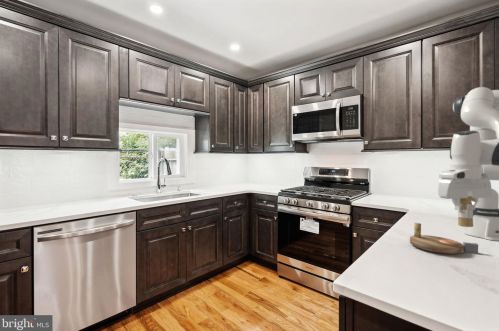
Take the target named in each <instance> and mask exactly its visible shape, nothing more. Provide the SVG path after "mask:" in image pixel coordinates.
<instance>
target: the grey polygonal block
mask: <svg viewBox="0 0 499 331" xmlns="http://www.w3.org/2000/svg"><path fill="white" fill-rule="evenodd" d="M462 245H463V252H464V253H469V254H477V255H478V254H479V243H474V242H463V243H462Z"/></svg>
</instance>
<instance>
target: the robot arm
mask: <svg viewBox="0 0 499 331" xmlns="http://www.w3.org/2000/svg"><path fill="white" fill-rule="evenodd" d="M452 111H453V112H454V115H456V116H458V117H460V119H461V121H462V122H463V123H464V124H465V125H467V126H469V130H465V131H464V130H463V131H458V132H455V133H454V134H453V136H452V139H451V145H450V149H449V158H450V159H451V163H450V168H448V169H446V170H442V171H441V172H439V173H438V178H440V179H439V181H438V187H437V188H438V189H437V190H438V191H437V194H438V196H439V198H440V199H445V200H448V199H449V200H451V201H452V203H453V204H454V210H455V211H458V210H463V209H462V208H463V206H461V205H460V202H459V201H460V200H461V198H468V197H469V196H468V192H469V191H471V192H472V196H471V197H472V204H473V225H474V226H473V227H464V228H465V229H464V231H463V233H464V234H466V235H468V236H471V237H476V238H482V239H485V240H490V241H497V242H498V241H499V193H498V191H497V190H495V189H493V188H492V183H491V181H499V89H493V90H492V89H490V88H488V87H485V86H480V87H475V88H473V89H471V90H470V91H469V92H468V93H467V94H466V95H465V94H463V95H460V96H458V97H456V99H454V102H453V103H452Z"/></svg>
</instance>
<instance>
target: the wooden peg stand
mask: <svg viewBox="0 0 499 331" xmlns="http://www.w3.org/2000/svg"><path fill="white" fill-rule="evenodd" d="M413 234H414V235H410V237H409V243H410V244H411V245H412V246H414V247H415V248H419V249H421V250H425V251H429V252H433V253H434V252H435V253H440V254H452V255H453V254H455V255H456V254H462V253H463V252H464V251H463V243H461V242H459V241H457V240H453V239H451V238H446V237H441V236H435V235H427V234H422V224H421V223H420V222H414V232H413Z"/></svg>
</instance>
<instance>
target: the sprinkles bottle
mask: <svg viewBox="0 0 499 331" xmlns="http://www.w3.org/2000/svg"><path fill="white" fill-rule="evenodd" d="M468 196H469V197H468V198H461V200H460V201H459V202H460V205H461V206H463V208H462V209H463V210H457V220H458V223H457V225H458V226H459V227H464V228H466V227H473V226H474V225H473V204H472V197H471V196H472V192H471V191H469V192H468Z"/></svg>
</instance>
